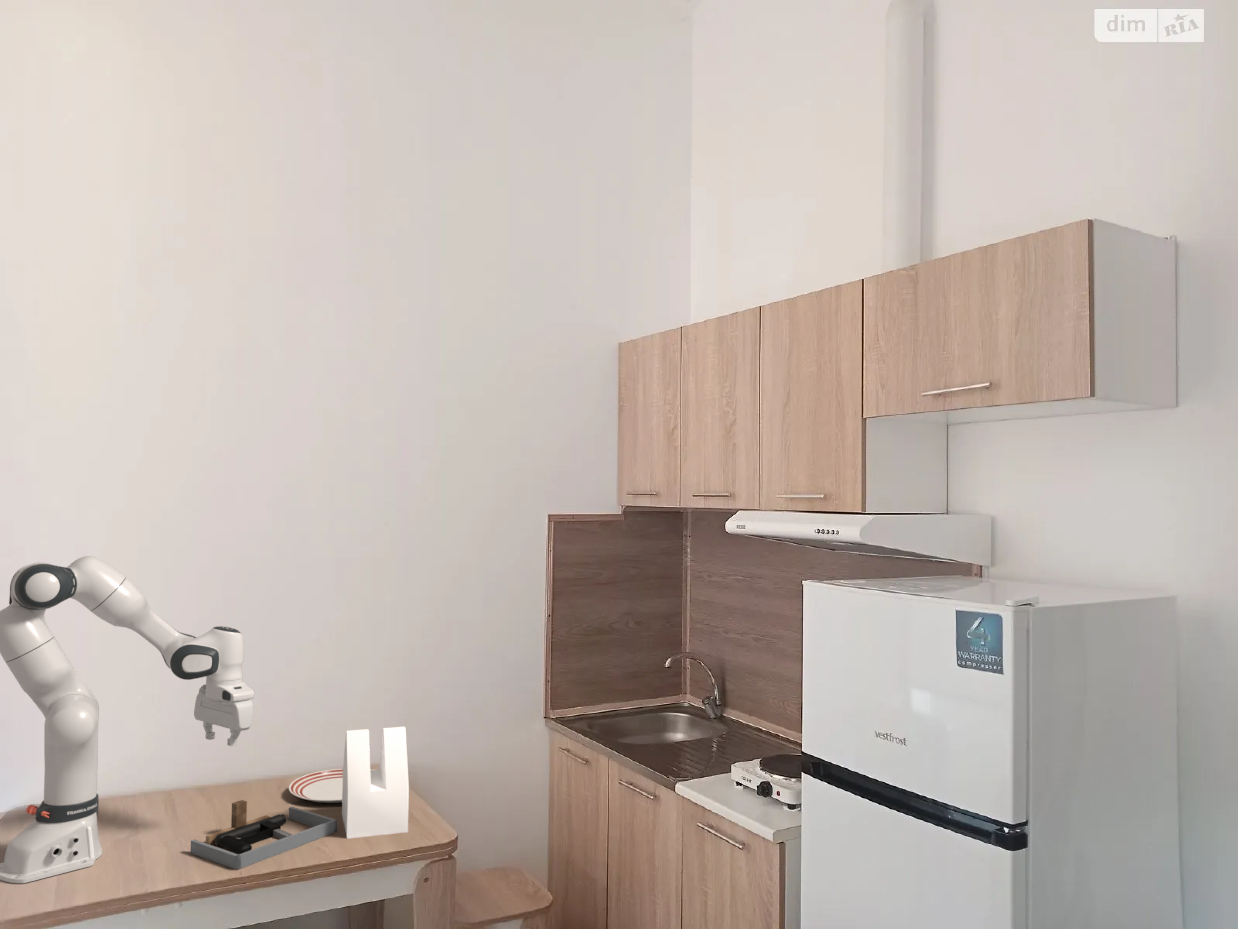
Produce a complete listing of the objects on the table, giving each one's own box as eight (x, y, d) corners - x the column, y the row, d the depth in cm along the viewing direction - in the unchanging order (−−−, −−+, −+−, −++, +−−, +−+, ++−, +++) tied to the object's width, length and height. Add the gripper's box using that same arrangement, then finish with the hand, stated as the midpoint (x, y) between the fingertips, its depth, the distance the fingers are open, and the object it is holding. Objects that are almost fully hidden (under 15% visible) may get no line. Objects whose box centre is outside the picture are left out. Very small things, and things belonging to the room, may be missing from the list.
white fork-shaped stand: (341, 814, 261) (343, 722, 261) (398, 808, 266) (400, 719, 266) (346, 839, 243) (349, 740, 243) (407, 832, 248) (409, 736, 248)
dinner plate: (387, 805, 269) (387, 794, 269) (284, 812, 261) (285, 800, 261) (384, 776, 295) (385, 765, 295) (291, 782, 288) (292, 771, 288)
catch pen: (237, 870, 222) (237, 857, 222) (190, 853, 231) (190, 840, 232) (337, 831, 247) (337, 820, 247) (291, 817, 257) (291, 806, 257)
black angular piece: (317, 827, 245) (277, 810, 254) (249, 851, 228) (210, 833, 237) (316, 839, 245) (277, 823, 254) (248, 865, 228) (209, 846, 237)
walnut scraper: (209, 847, 236) (210, 813, 236) (204, 845, 237) (205, 811, 237) (270, 826, 251) (271, 793, 252) (265, 824, 252) (266, 792, 253)
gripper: (189, 685, 251) (186, 737, 251) (236, 696, 240) (233, 751, 240) (210, 681, 257) (208, 733, 256) (258, 693, 246) (255, 746, 245)
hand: (220, 742), depth 248 cm, fingers open, 8 cm apart
